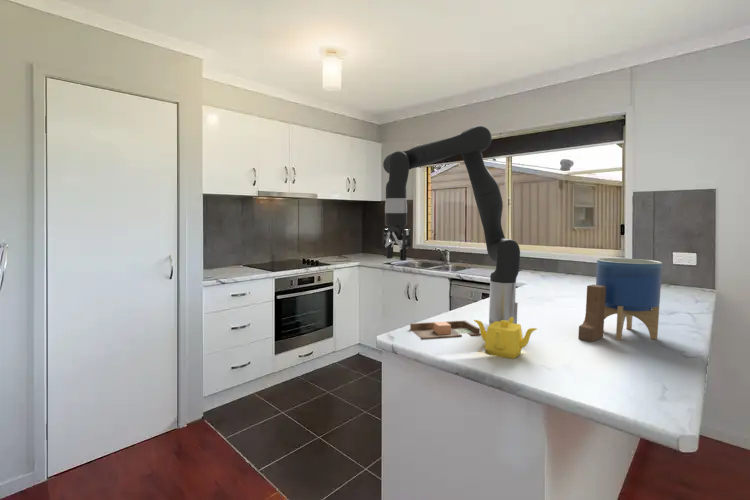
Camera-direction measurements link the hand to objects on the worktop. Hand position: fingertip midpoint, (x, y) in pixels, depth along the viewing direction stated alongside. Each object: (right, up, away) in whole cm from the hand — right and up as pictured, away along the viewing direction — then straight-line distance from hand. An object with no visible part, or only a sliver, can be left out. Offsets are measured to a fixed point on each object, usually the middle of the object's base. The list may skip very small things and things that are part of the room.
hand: (396, 259), depth 134 cm
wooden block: (+67, -27, 0) cm, 72 cm away
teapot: (+32, -28, -15) cm, 45 cm away
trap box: (+16, -27, 0) cm, 31 cm away
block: (+16, -25, 0) cm, 30 cm away
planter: (+82, -27, +5) cm, 86 cm away
